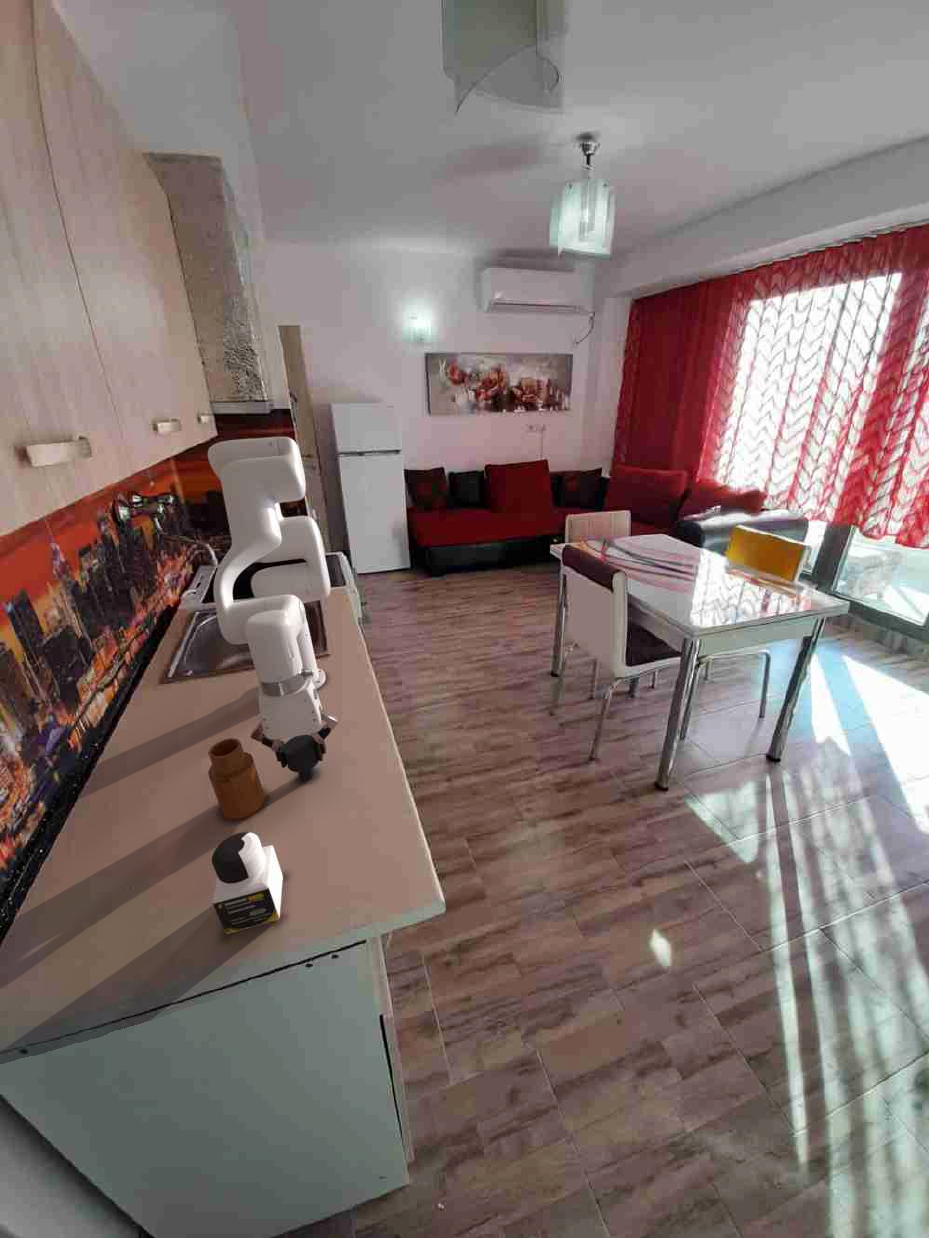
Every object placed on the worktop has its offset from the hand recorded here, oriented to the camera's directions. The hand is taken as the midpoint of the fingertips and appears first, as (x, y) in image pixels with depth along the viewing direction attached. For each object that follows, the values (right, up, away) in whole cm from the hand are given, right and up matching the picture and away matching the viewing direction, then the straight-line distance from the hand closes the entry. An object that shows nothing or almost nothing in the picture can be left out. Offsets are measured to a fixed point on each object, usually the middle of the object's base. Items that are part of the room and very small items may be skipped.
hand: (303, 758), depth 90 cm
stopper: (0, -4, +2) cm, 4 cm away
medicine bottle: (0, -15, -21) cm, 26 cm away
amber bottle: (-10, -7, -4) cm, 13 cm away
